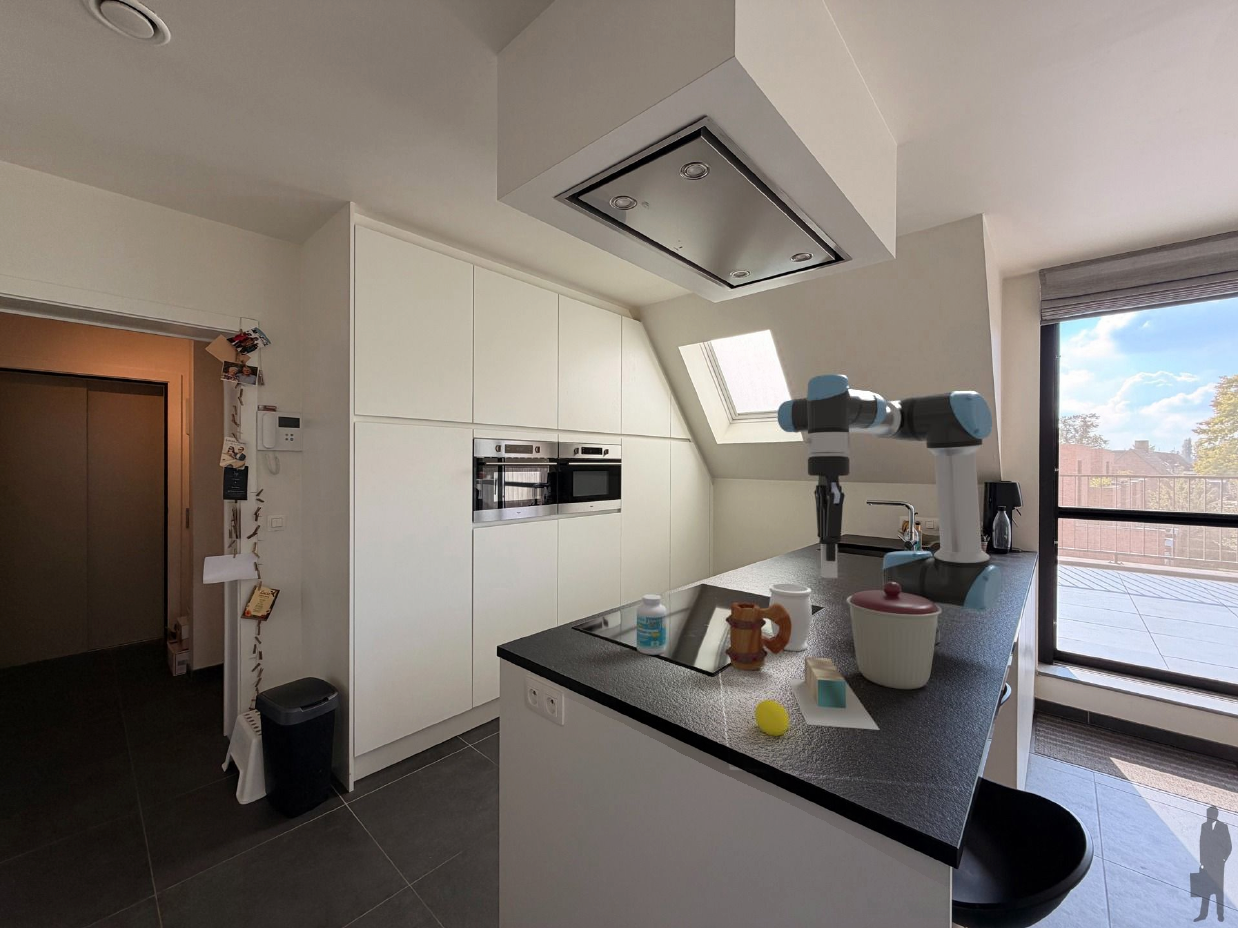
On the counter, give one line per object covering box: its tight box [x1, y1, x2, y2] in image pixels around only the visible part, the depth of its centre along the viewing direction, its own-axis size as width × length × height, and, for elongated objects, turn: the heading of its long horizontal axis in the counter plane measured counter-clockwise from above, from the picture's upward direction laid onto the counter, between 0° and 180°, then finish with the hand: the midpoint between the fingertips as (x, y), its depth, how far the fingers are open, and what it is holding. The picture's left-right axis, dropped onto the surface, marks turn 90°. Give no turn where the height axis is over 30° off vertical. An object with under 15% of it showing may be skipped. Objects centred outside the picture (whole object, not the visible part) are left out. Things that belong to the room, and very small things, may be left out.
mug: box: [724, 602, 792, 671], centre depth 117 cm, size 15×8×15 cm, turn 70°
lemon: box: [754, 699, 790, 737], centre depth 88 cm, size 7×5×5 cm
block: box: [804, 656, 847, 708], centre depth 103 cm, size 5×5×12 cm
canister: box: [846, 582, 943, 690], centre depth 111 cm, size 18×18×21 cm
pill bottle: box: [636, 594, 667, 656], centre depth 129 cm, size 8×7×14 cm
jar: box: [768, 583, 813, 652], centre depth 132 cm, size 11×10×15 cm
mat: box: [787, 678, 881, 731], centre depth 99 cm, size 12×20×1 cm, turn 171°
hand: (829, 576), depth 99 cm, fingers closed
